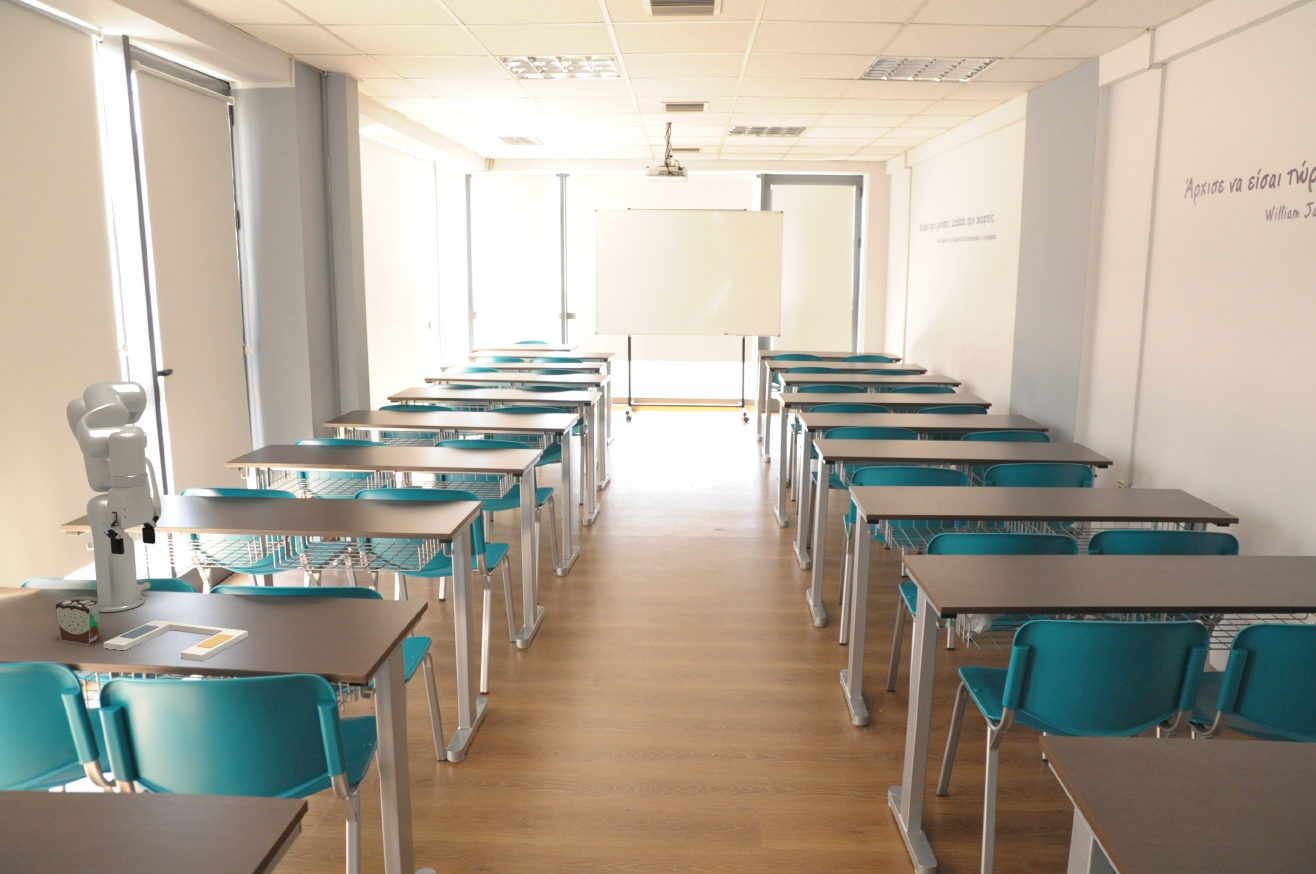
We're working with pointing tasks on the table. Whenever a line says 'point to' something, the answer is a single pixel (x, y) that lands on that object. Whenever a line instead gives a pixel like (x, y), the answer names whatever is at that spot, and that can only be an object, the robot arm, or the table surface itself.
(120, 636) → the label board
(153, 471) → the robot arm
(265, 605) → the table surface
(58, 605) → the food container
